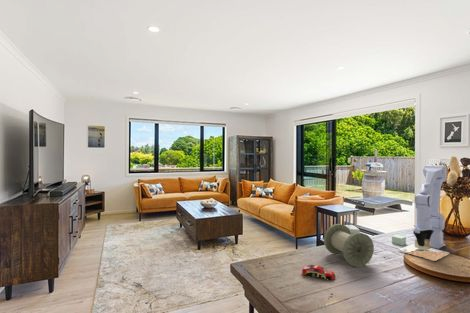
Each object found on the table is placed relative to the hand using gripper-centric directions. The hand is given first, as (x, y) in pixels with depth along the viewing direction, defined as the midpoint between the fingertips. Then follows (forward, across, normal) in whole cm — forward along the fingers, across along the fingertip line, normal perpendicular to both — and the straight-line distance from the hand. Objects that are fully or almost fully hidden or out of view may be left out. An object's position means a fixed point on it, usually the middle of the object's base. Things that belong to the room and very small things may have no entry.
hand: (423, 244), depth 133 cm
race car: (+5, +63, -14) cm, 65 cm away
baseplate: (+4, 0, 0) cm, 4 cm away
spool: (+4, +38, -17) cm, 42 cm away
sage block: (+4, -5, -14) cm, 16 cm away
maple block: (+2, 0, 0) cm, 2 cm away
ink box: (+4, +24, -24) cm, 34 cm away
